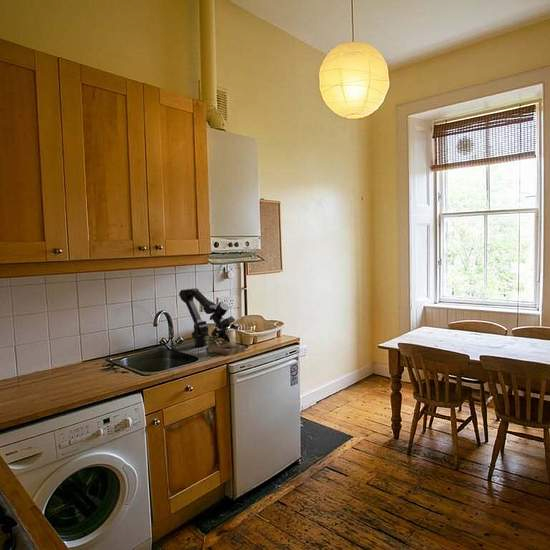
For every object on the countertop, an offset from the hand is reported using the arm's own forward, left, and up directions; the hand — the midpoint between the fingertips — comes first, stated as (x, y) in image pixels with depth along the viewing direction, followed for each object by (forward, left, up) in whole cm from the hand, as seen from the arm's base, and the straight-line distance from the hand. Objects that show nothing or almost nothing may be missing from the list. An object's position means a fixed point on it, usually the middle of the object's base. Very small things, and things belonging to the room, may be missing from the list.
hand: (233, 341), depth 237 cm
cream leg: (-1, 0, -6) cm, 7 cm away
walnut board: (-3, +1, -7) cm, 7 cm away
